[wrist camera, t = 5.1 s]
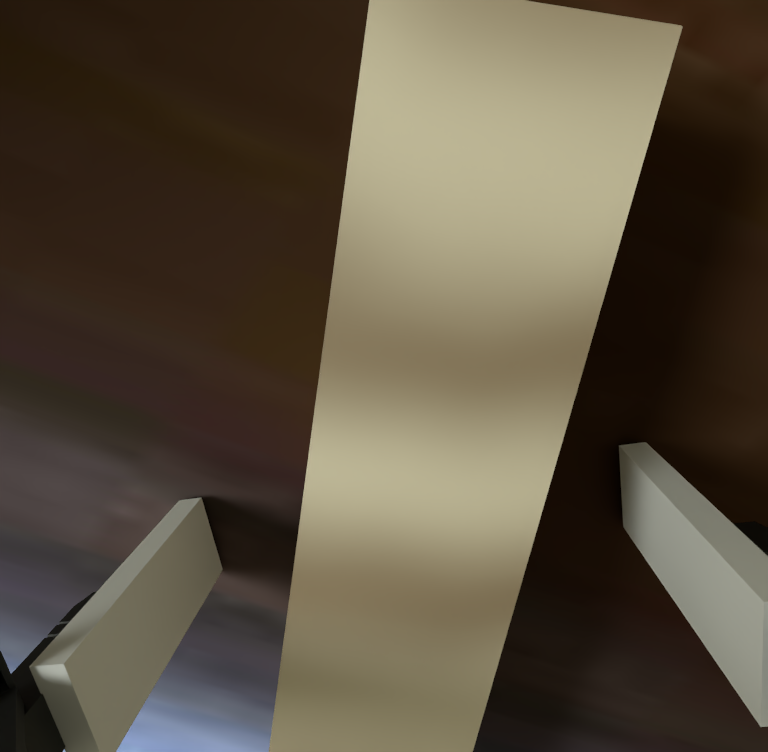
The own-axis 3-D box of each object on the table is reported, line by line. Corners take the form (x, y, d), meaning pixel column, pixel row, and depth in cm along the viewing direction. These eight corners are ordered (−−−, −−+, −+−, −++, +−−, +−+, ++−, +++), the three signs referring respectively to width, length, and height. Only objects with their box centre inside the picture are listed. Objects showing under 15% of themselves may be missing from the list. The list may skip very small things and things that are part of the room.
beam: (414, 782, 20) (412, 960, 15) (287, 757, 20) (245, 926, 15) (584, 102, 13) (682, 25, 8) (390, 69, 13) (372, -25, 8)
